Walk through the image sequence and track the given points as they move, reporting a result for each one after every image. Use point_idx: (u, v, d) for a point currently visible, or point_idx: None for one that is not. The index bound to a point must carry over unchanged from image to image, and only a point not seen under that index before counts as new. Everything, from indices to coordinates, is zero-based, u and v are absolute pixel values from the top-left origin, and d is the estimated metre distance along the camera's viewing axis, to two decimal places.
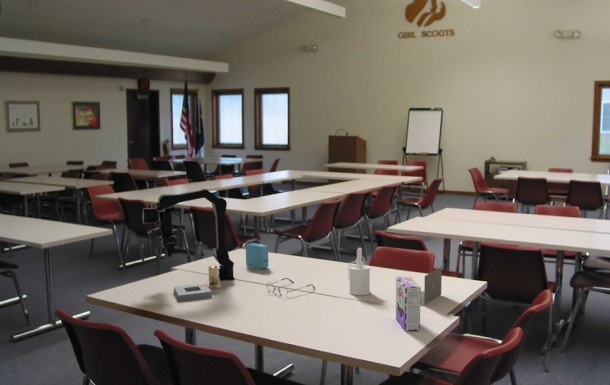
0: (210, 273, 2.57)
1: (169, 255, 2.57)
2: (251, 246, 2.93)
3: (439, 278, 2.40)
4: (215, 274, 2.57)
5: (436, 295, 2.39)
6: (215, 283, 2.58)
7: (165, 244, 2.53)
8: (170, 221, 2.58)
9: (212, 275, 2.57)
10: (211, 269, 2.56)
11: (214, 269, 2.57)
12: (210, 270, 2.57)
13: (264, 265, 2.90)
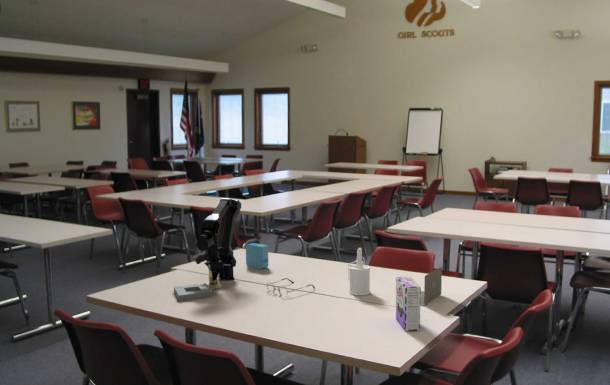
0: (210, 273, 2.57)
1: (214, 279, 2.56)
2: (251, 246, 2.93)
3: (439, 278, 2.40)
4: None
5: (436, 295, 2.39)
6: (215, 283, 2.58)
7: (211, 268, 2.52)
8: None
9: None
10: None
11: None
12: (210, 270, 2.57)
13: (264, 265, 2.90)
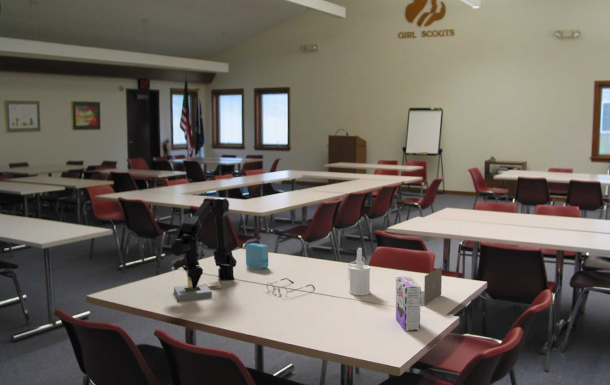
0: (189, 284, 2.46)
1: (194, 287, 2.43)
2: (251, 246, 2.93)
3: (439, 278, 2.40)
4: None
5: (436, 295, 2.39)
6: None
7: (191, 275, 2.39)
8: (197, 249, 2.46)
9: (191, 286, 2.45)
10: (190, 279, 2.45)
11: None
12: (189, 280, 2.45)
13: (264, 265, 2.90)
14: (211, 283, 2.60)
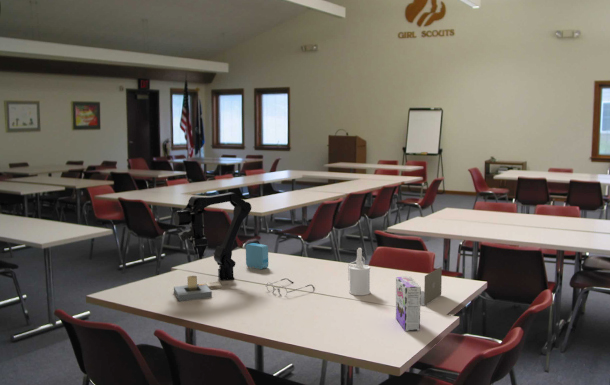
0: (189, 283, 2.46)
1: (200, 257, 2.59)
2: (251, 246, 2.93)
3: (439, 278, 2.40)
4: (194, 285, 2.46)
5: (436, 295, 2.39)
6: None
7: (197, 246, 2.54)
8: (202, 223, 2.61)
9: (191, 286, 2.45)
10: (190, 279, 2.45)
11: (193, 279, 2.45)
12: (189, 280, 2.45)
13: (264, 265, 2.90)
14: (211, 283, 2.60)
